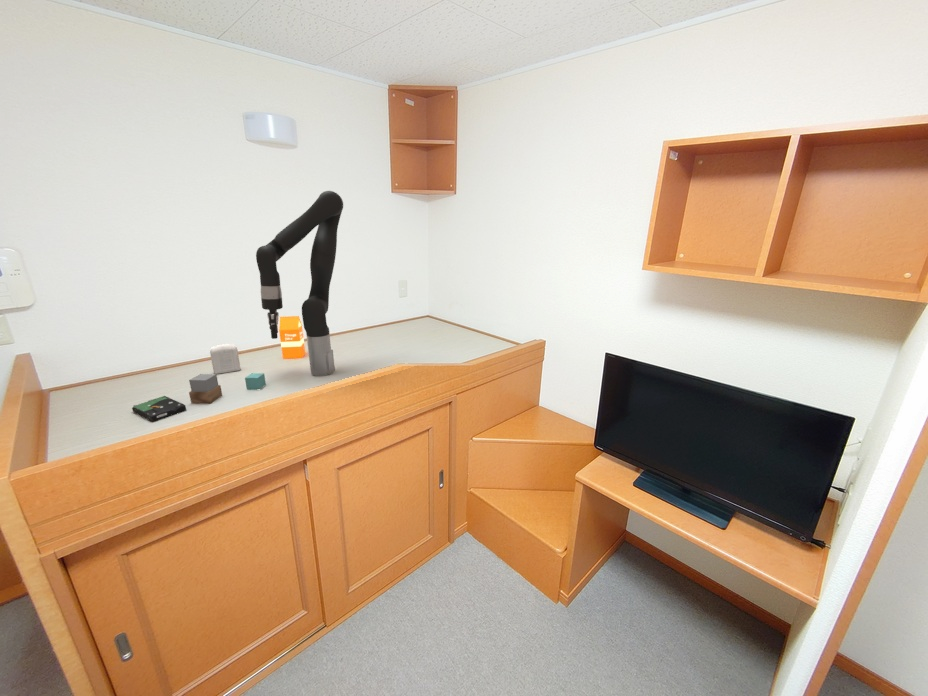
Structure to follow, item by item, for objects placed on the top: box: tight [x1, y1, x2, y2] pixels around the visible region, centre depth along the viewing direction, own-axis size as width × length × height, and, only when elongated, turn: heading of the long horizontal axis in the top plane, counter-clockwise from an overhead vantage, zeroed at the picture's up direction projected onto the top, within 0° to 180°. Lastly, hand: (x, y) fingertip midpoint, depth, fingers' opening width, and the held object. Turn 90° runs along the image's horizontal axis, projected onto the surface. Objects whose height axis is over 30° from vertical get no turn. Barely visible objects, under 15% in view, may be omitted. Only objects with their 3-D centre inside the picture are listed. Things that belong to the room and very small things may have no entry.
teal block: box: [244, 372, 267, 391], centre depth 155 cm, size 5×5×5 cm
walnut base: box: [188, 384, 223, 405], centre depth 144 cm, size 7×7×4 cm
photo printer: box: [209, 343, 241, 375], centre depth 171 cm, size 10×4×12 cm, turn 123°
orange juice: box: [278, 315, 306, 360], centre depth 190 cm, size 8×9×20 cm
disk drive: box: [131, 395, 187, 423], centre depth 135 cm, size 10×3×15 cm
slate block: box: [188, 373, 220, 392], centre depth 143 cm, size 6×6×4 cm
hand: (274, 335), depth 162 cm, fingers open, 8 cm apart
